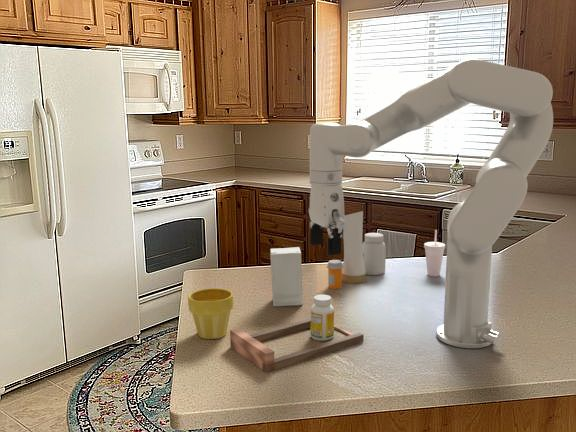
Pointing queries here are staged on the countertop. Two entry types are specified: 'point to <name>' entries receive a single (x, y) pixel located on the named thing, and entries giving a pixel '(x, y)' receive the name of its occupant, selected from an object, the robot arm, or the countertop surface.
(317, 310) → the supplement bottle
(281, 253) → the skincare box
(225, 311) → the plant pot
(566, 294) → the countertop surface
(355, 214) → the toiletry set
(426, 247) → the smoothie
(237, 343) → the frame
